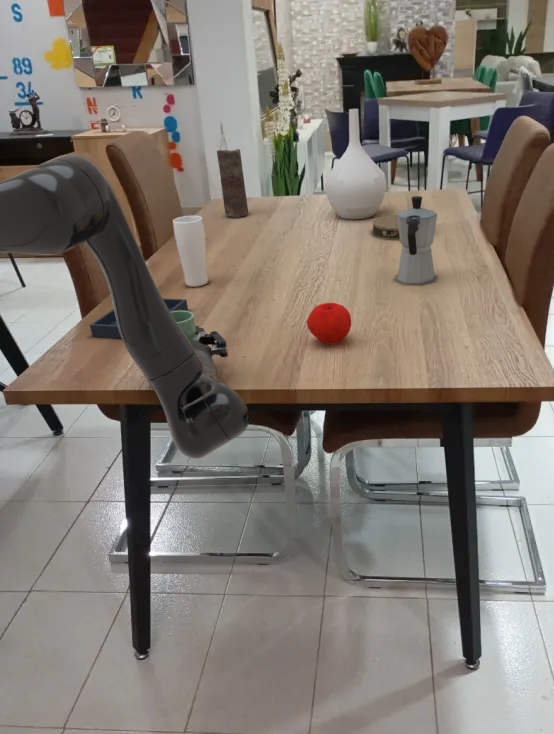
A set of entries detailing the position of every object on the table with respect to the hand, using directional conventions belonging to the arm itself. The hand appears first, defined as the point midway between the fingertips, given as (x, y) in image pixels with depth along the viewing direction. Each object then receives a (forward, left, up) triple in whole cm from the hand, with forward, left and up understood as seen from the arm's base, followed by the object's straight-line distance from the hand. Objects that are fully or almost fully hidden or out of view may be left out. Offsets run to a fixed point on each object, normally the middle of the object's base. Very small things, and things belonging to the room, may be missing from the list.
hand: (177, 334), depth 119 cm
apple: (+14, -23, -6) cm, 28 cm away
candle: (+109, +33, -6) cm, 114 cm away
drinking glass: (+43, +17, -6) cm, 46 cm away
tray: (+18, +18, -6) cm, 26 cm away
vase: (+110, -6, -6) cm, 110 cm away
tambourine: (+92, -23, -6) cm, 95 cm away
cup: (-2, -1, -6) cm, 6 cm away
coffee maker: (+51, -33, -6) cm, 61 cm away
